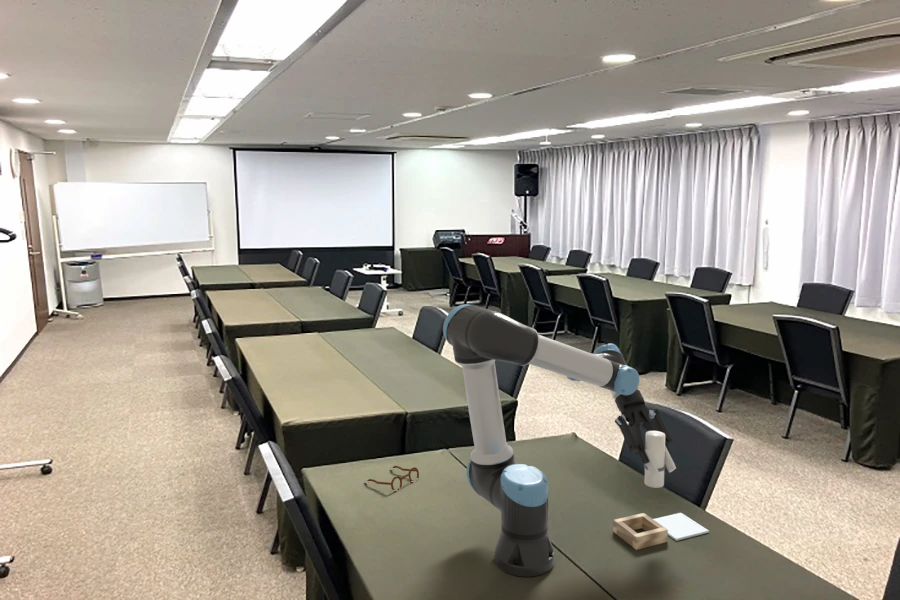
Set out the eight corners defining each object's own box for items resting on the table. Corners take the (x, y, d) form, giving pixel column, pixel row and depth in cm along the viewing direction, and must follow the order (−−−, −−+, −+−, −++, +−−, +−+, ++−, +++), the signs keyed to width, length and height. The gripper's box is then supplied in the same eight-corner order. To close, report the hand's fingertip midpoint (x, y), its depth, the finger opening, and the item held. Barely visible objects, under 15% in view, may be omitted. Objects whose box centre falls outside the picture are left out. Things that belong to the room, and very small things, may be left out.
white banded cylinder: (652, 489, 170) (653, 439, 168) (639, 481, 175) (640, 432, 173) (669, 485, 172) (670, 435, 170) (655, 477, 177) (656, 429, 175)
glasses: (393, 495, 202) (393, 480, 201) (363, 484, 210) (362, 470, 209) (420, 480, 212) (419, 466, 211) (390, 470, 220) (390, 457, 219)
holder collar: (636, 549, 168) (636, 537, 167) (613, 531, 177) (613, 519, 176) (667, 541, 171) (667, 529, 171) (643, 524, 180) (643, 512, 180)
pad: (676, 540, 172) (676, 538, 171) (649, 521, 182) (649, 519, 182) (708, 532, 175) (708, 530, 175) (680, 514, 186) (680, 512, 185)
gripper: (646, 396, 188) (684, 471, 175) (593, 405, 181) (629, 484, 169) (659, 383, 182) (698, 460, 169) (605, 392, 176) (642, 472, 163)
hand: (664, 472), depth 169 cm, fingers closed on white banded cylinder, 5 cm apart
